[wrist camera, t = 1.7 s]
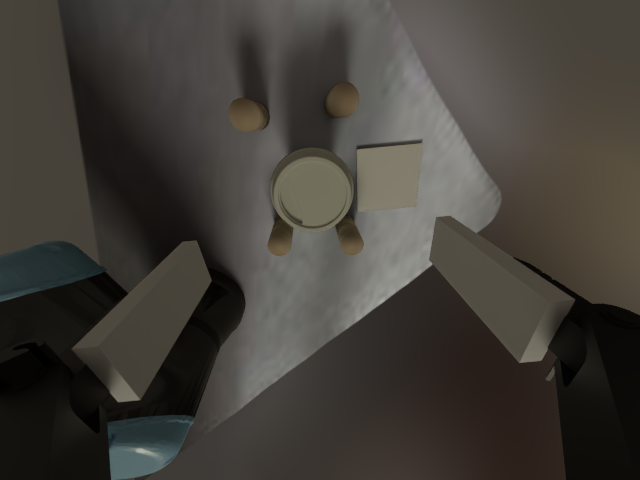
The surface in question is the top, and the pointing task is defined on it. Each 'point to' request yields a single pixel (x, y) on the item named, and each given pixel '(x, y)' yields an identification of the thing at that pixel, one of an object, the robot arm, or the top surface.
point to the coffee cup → (312, 189)
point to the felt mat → (388, 176)
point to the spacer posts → (257, 117)
